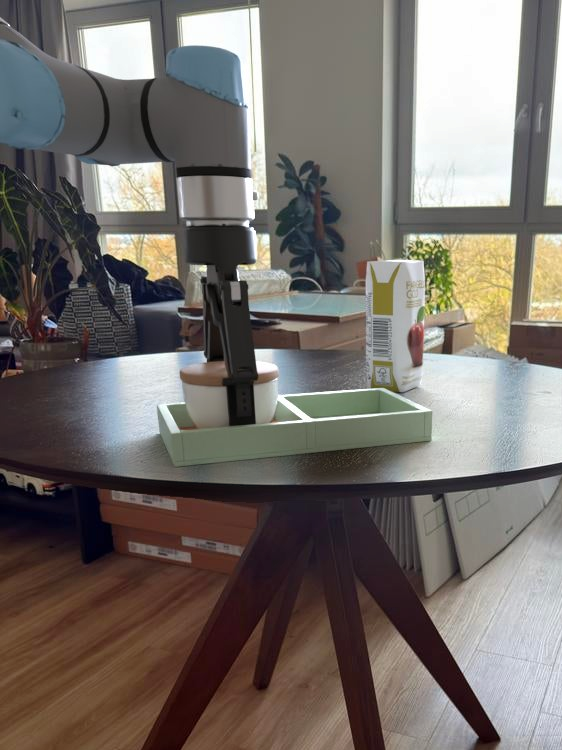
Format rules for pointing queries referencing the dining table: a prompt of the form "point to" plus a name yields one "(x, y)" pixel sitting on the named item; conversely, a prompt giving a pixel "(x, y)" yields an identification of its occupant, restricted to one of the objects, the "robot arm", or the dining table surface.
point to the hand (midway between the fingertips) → (233, 432)
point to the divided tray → (299, 427)
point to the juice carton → (395, 324)
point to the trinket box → (225, 393)
